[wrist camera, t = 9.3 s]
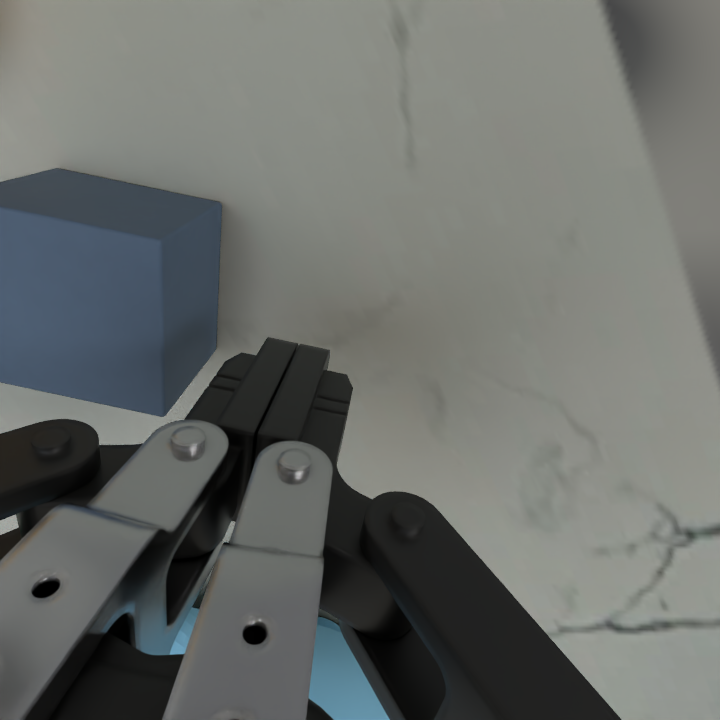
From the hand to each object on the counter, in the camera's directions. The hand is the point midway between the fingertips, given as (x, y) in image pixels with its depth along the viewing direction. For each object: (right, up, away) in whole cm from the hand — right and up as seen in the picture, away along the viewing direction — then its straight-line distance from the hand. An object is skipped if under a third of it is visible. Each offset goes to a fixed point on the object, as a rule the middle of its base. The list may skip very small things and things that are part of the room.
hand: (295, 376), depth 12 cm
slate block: (-5, +3, +4) cm, 7 cm away
